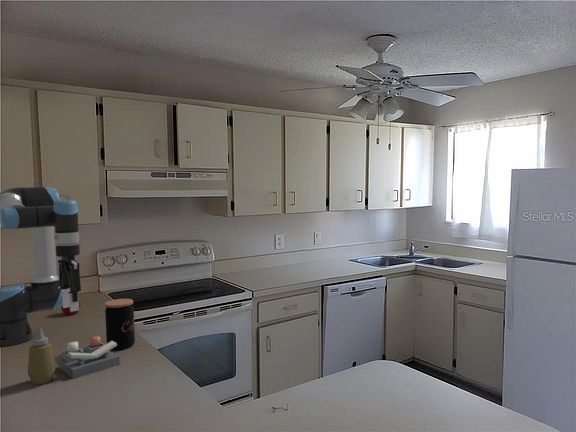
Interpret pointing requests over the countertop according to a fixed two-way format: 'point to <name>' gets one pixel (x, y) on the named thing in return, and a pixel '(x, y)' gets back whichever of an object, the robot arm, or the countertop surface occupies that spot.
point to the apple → (67, 310)
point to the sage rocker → (81, 355)
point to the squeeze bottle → (41, 360)
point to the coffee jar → (120, 323)
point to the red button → (95, 341)
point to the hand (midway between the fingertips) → (70, 308)
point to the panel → (87, 362)
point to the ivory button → (72, 347)
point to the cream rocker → (104, 349)
